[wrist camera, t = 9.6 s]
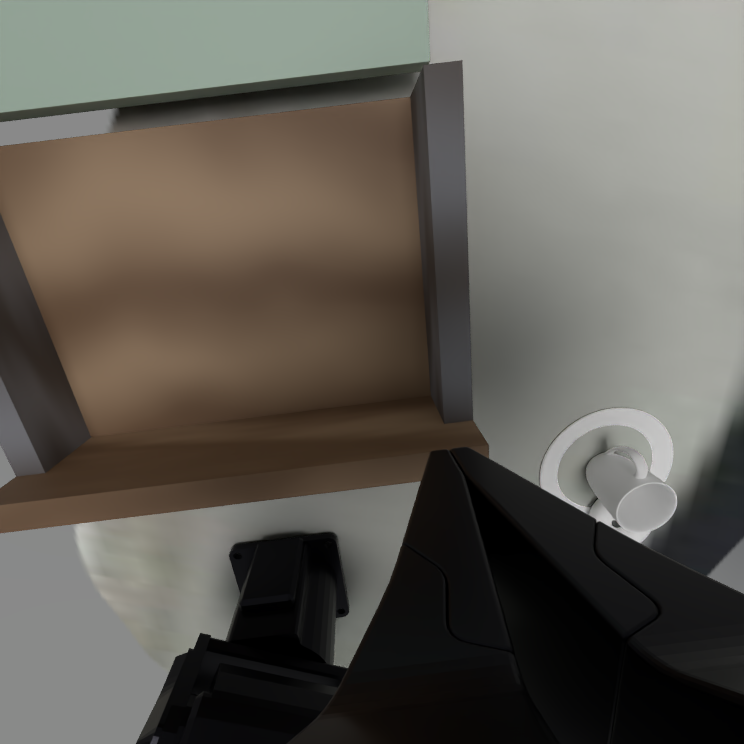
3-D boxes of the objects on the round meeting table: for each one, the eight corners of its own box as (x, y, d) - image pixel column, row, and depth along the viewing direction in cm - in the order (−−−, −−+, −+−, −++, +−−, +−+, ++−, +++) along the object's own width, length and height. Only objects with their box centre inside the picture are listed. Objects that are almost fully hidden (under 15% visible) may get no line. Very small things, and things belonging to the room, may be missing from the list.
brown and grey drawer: (447, 398, 21) (488, 472, 15) (100, 441, 21) (-14, 534, 15) (431, 109, 17) (482, 28, 10) (-11, 162, 17) (-249, 115, 10)
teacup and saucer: (633, 533, 26) (682, 585, 22) (517, 522, 25) (547, 574, 21) (688, 412, 23) (755, 448, 19) (558, 396, 22) (601, 430, 18)
